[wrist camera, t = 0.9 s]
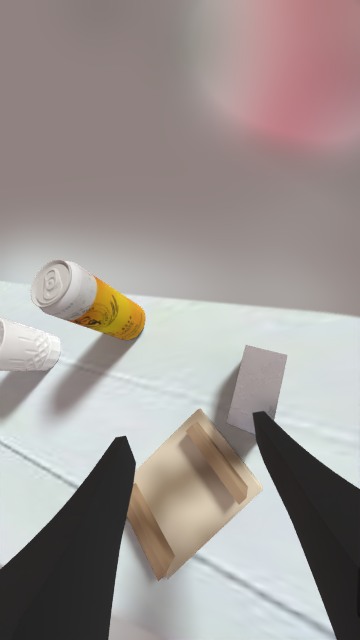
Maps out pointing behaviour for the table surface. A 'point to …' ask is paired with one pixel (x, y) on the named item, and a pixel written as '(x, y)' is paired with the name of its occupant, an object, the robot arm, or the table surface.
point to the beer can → (85, 300)
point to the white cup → (26, 348)
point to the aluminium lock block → (256, 387)
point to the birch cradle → (187, 494)
